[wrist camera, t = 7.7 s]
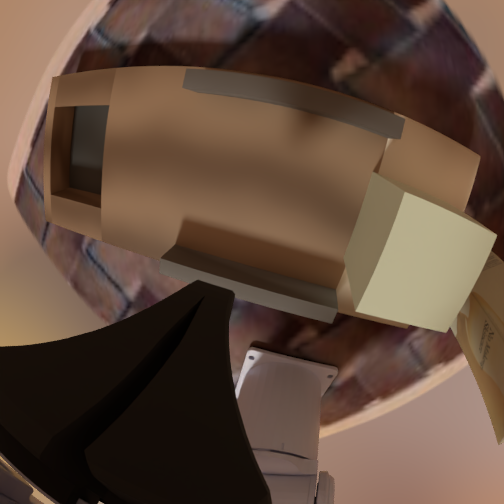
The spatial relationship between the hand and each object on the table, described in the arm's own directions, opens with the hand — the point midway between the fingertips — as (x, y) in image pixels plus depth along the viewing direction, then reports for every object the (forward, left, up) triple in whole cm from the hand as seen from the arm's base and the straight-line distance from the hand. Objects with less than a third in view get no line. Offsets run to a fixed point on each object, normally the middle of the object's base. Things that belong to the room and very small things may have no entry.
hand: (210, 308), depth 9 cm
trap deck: (+3, +3, -9) cm, 10 cm away
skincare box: (0, -18, -10) cm, 20 cm away
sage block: (+3, -8, -7) cm, 11 cm away
